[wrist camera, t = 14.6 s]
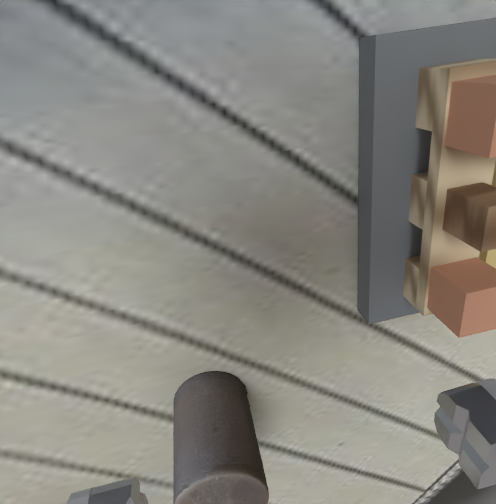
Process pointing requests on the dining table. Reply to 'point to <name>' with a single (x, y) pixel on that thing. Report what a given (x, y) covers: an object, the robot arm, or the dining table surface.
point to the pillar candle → (216, 443)
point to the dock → (400, 152)
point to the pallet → (448, 186)
